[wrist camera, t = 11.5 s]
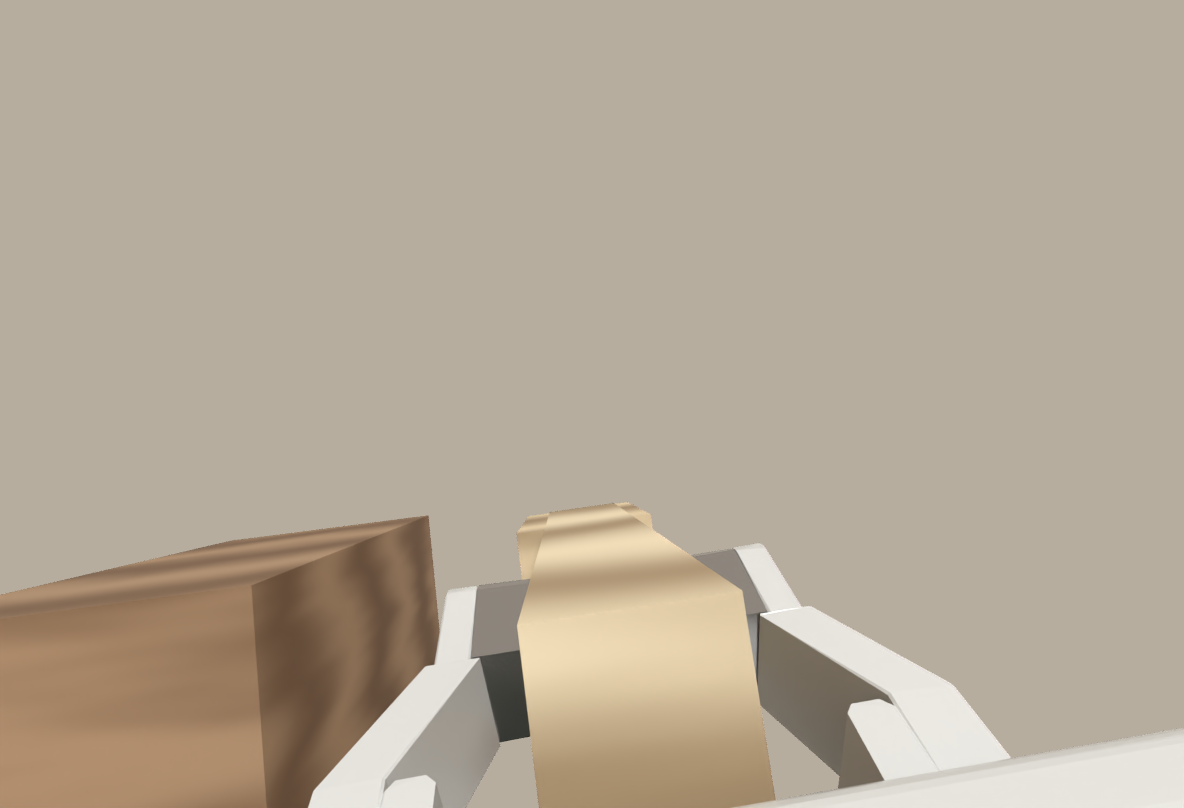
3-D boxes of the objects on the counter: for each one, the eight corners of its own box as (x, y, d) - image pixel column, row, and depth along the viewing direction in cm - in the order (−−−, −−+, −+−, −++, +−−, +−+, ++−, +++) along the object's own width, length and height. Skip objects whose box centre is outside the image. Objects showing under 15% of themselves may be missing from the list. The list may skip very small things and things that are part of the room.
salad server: (901, 807, 6) (859, 573, 6) (415, 894, 6) (390, 644, 6) (632, 538, 30) (625, 490, 30) (533, 552, 30) (527, 504, 30)
